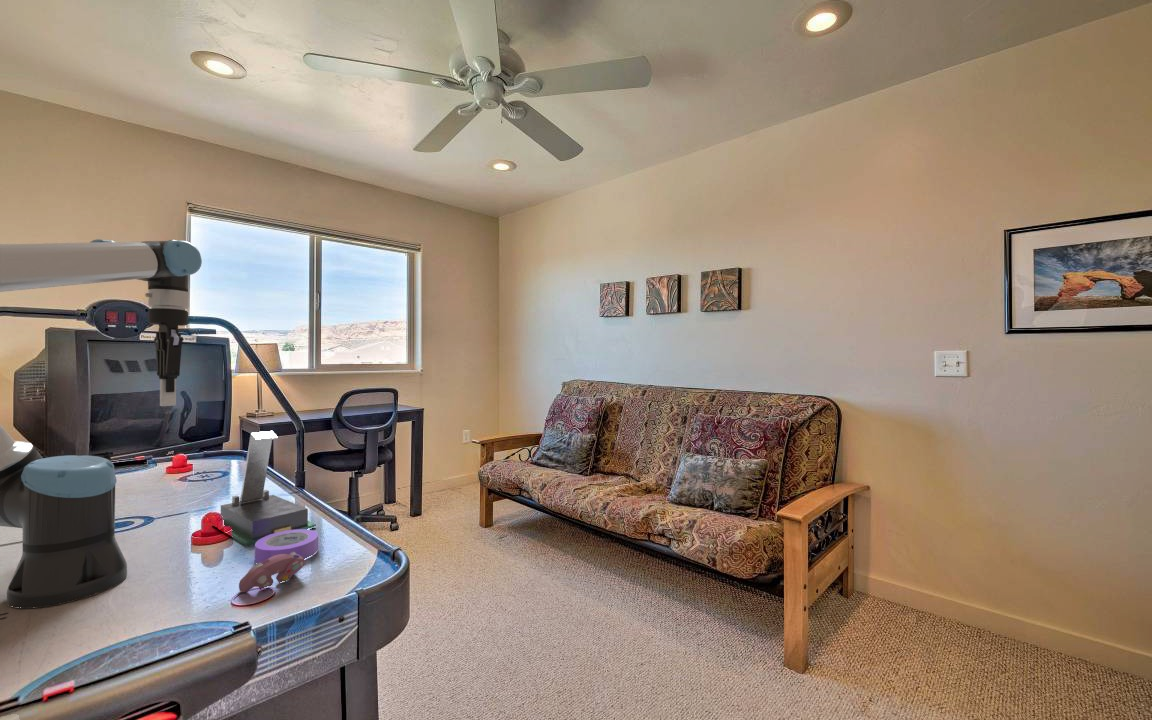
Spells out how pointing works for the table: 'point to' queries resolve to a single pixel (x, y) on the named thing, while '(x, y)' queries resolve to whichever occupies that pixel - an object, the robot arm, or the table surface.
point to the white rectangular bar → (256, 465)
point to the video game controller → (272, 571)
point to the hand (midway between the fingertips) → (168, 405)
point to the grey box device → (263, 517)
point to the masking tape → (287, 544)
